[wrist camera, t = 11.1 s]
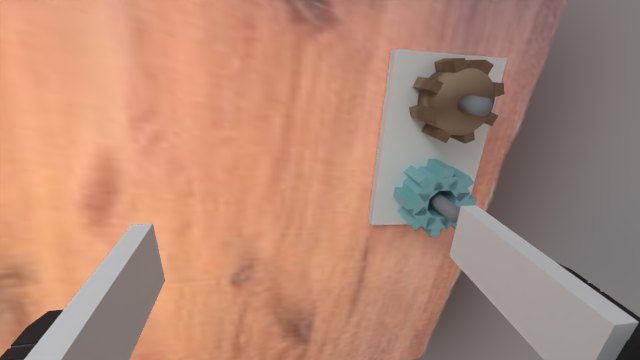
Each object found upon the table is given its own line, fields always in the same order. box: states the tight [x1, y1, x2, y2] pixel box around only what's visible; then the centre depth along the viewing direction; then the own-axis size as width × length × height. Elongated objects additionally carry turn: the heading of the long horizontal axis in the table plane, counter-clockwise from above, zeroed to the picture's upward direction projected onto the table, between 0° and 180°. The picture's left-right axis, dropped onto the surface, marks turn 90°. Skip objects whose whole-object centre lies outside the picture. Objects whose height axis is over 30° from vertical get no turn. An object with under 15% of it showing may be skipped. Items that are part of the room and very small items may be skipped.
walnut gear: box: [409, 58, 504, 144], centre depth 34 cm, size 9×9×4 cm
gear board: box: [368, 49, 508, 225], centre depth 35 cm, size 22×14×8 cm, turn 176°
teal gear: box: [393, 159, 476, 237], centre depth 38 cm, size 9×9×4 cm
